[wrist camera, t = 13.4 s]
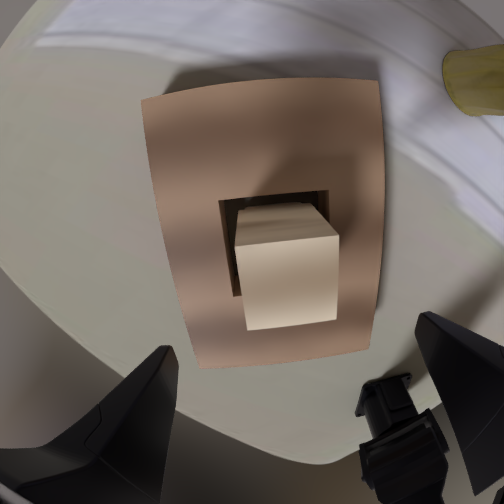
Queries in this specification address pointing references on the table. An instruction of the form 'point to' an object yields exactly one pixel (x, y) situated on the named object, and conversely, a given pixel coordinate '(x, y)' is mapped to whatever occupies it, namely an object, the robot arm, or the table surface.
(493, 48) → the vase
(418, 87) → the table surface
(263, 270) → the peg
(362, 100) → the board
